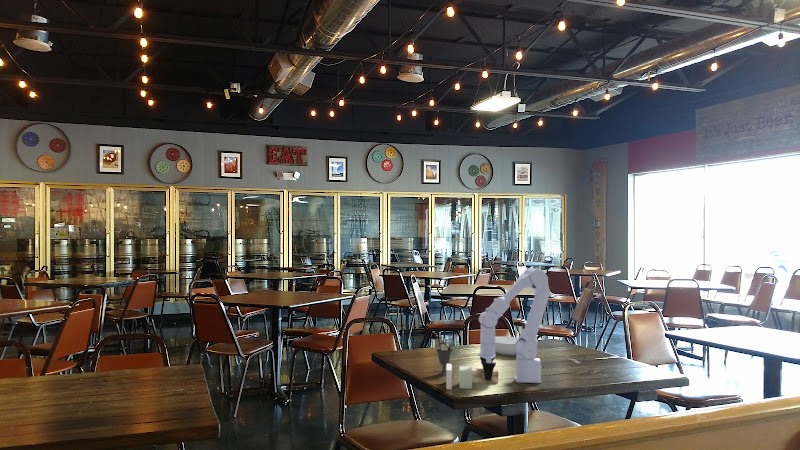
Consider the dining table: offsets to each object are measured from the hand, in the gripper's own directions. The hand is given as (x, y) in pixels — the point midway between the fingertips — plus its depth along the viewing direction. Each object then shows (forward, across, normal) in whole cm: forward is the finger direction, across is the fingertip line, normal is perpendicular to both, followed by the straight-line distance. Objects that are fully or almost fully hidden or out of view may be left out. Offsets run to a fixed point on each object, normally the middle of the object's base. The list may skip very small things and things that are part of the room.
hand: (487, 377), depth 225 cm
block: (+1, +8, -9) cm, 12 cm away
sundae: (+2, -10, -17) cm, 20 cm away
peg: (+2, 0, -2) cm, 3 cm away
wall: (+1, +8, -15) cm, 17 cm away
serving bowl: (+2, -55, +14) cm, 57 cm away
